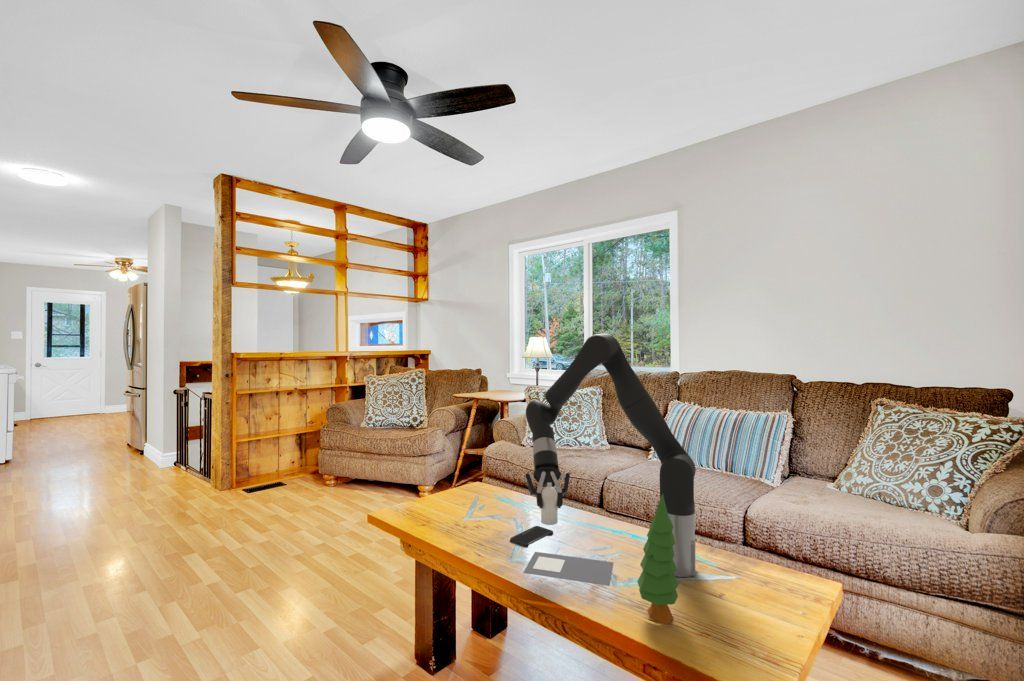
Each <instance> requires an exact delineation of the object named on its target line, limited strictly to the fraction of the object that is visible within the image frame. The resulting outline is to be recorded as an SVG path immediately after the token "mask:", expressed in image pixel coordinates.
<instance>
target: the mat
mask: <svg viewBox="0 0 1024 681" xmlns="http://www.w3.org/2000/svg"><path fill="white" fill-rule="evenodd" d="M613 568H614V561H606V560H598V559H591V558H584V557H583V558H582V557H577V556H569V555H563V554H554V553H546V552H540V551H534V553H533V555H532V556H531V558H530V560H528V564H527V565H526V566H525V569H524V570H523V572H522V573H523V574H529V575H536V576H541V577H542V576H543V577H548V578H549V577H550V578H555V579H556V578H557V579H563V580H569V581H577V582H581V583H582V582H583V583H590V584H596V585H603V586H611V579H612V572H613Z"/></svg>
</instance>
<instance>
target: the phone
mask: <svg viewBox="0 0 1024 681" xmlns="http://www.w3.org/2000/svg"><path fill="white" fill-rule="evenodd" d="M550 535H551V536H552V535H554V531H553V530H552V529H548V528H545V527H543V526H540V525H534V526H532V527H530V528H528V529H526V530H523V531H522V532H519V533H518V534H516V535H514V536H511V537H510V539H509V540H510V542H511V543H514V544H517V545H519V546H522V547H525V548H528V547H529V546H530V545H531V544H534V543H535V542H537V541H539V540H541V539H543V538H545V537H550Z"/></svg>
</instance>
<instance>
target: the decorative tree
mask: <svg viewBox="0 0 1024 681" xmlns="http://www.w3.org/2000/svg"><path fill="white" fill-rule="evenodd" d="M656 507H657V508H656V511H655V513H654V516H653V518H652V520H651V523H650V524H649V527H650V528H649V529H648V531H647V534H646V537H647V539H646V542H645V544H644V546H643V548H642V549H643V550H642V551H643V553H644V556H643V558H642V560H641V561H640V567H641V569H642V572H641V573H640V576H639V577H638V579H637V585H638V590H639V594H640V597H641V599H642V600H644V601H646V602H649V603H650V604H651V605H650V606H649V608H648V609H647V610H646V612H647V615H648V617H649V618H650V619H648V621H649V622H652V623H655V624H663V625H668V624H669V623H670V622H671V621H672V620H673V619H674V616H673V614H672V612H671V608H670V607H669V605H675V604H676V601H678V600H677V599H678V598H679V595H678V592H677V588H678V586H679V584H680V583H679V581H678V578H677V576H675V575H674V572H675V571H677V568H676V566H675V563H674V561H673V558H674V556H675V554H674V550H673V545H674V544H675V540H674V536H673V533H672V530H673V528H674V527H673V525H672V522H671V520H670V518H669V516H668V512H667V509H666V505H665V501H664V496H663V494H662V496H661V498H660V497H659V501H658V504H657V506H656Z"/></svg>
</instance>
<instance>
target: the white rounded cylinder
mask: <svg viewBox="0 0 1024 681" xmlns="http://www.w3.org/2000/svg"><path fill="white" fill-rule="evenodd" d="M541 494H542V509H540V515H541V516H540V518H541V519H540V522H541V524H542V525H545V526H554V525H557V524H558V514H559V511H558V509H559V508H558V493H557V490H556V489H555V488H554V487H552V483H550V482H547V487H543V488H542V491H541Z"/></svg>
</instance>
